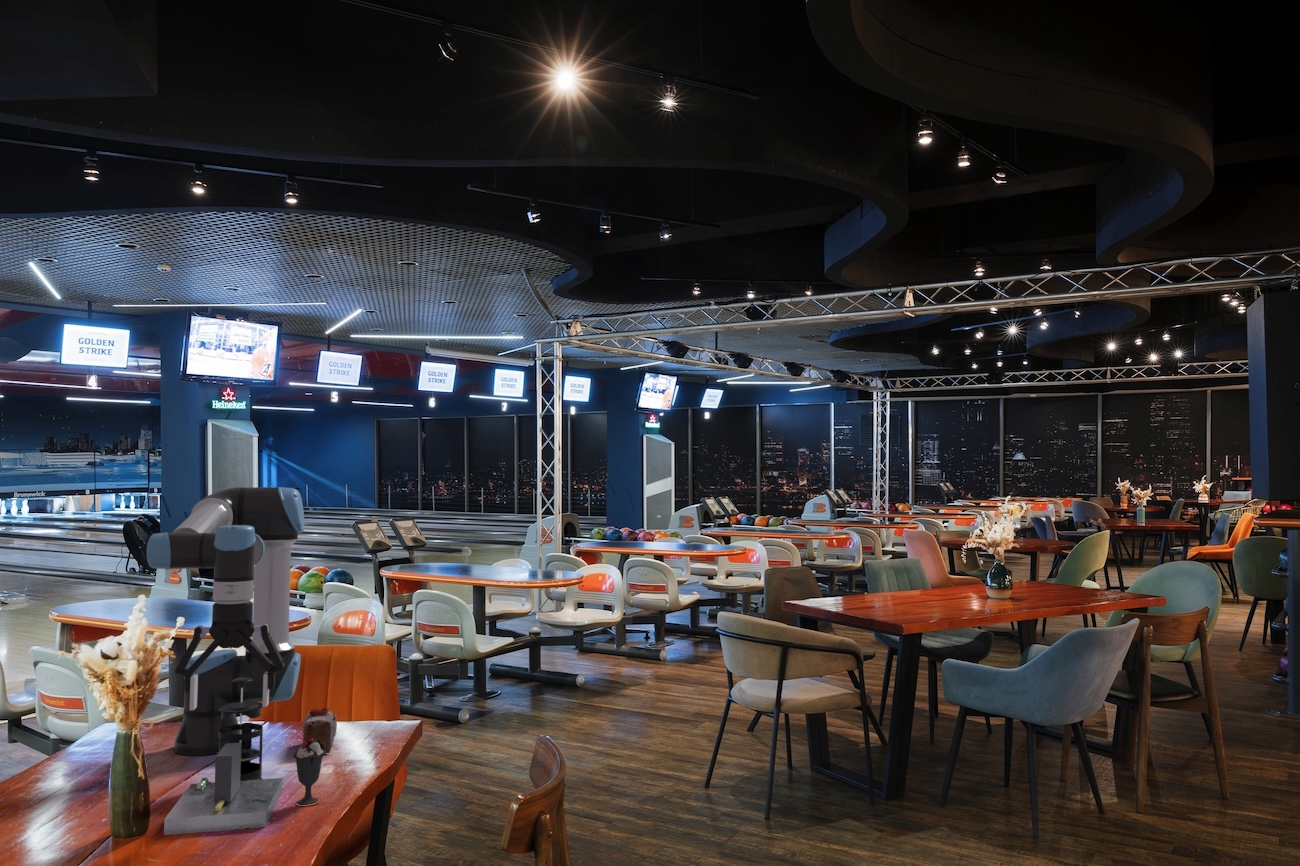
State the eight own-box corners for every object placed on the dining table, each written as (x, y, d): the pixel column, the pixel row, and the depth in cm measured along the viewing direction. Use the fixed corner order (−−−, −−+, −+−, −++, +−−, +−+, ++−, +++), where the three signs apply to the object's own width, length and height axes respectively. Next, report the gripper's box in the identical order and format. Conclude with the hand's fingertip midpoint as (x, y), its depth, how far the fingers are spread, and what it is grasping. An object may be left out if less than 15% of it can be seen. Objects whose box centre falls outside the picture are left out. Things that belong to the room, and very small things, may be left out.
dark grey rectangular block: (224, 787, 188) (225, 743, 189) (239, 786, 189) (241, 742, 189) (208, 811, 175) (210, 763, 175) (225, 810, 176) (227, 762, 176)
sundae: (292, 810, 185) (294, 735, 186) (289, 800, 191) (291, 727, 192) (327, 805, 188) (328, 731, 189) (322, 795, 194) (324, 723, 195)
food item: (303, 741, 233) (304, 702, 233) (336, 739, 235) (337, 700, 236) (301, 757, 220) (302, 716, 220) (336, 754, 223) (337, 713, 223)
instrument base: (191, 798, 192) (191, 775, 192) (282, 792, 196) (282, 769, 196) (163, 835, 172) (164, 809, 172) (265, 827, 176) (266, 802, 177)
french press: (255, 791, 196) (258, 683, 197) (209, 793, 195) (212, 684, 196) (268, 773, 208) (271, 671, 209) (224, 775, 206) (227, 672, 207)
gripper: (160, 605, 179) (156, 714, 178) (295, 602, 185) (292, 708, 184) (171, 600, 187) (167, 705, 185) (300, 597, 192) (297, 699, 191)
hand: (229, 707), depth 185 cm, fingers open, 13 cm apart
